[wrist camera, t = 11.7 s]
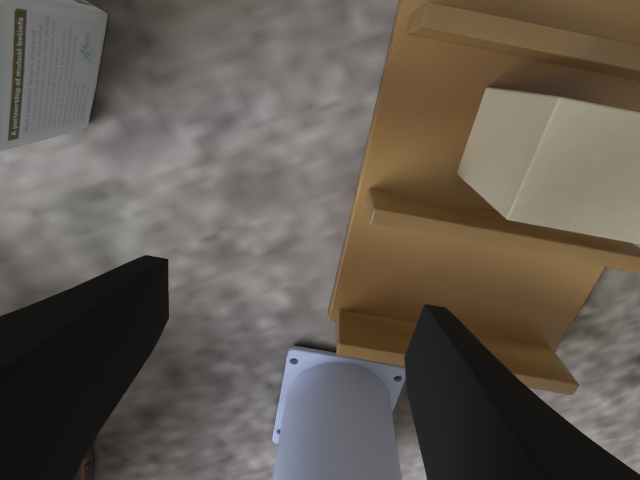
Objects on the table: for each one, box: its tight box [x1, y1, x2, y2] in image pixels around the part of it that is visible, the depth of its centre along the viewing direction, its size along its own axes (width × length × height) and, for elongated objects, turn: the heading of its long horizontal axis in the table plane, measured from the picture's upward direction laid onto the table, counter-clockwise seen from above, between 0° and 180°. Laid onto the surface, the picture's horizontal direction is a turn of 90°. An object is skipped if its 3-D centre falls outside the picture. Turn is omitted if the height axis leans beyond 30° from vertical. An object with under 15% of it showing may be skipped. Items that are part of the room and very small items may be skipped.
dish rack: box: [328, 0, 640, 395], centre depth 16 cm, size 24×14×4 cm, turn 170°
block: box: [457, 87, 640, 244], centre depth 14 cm, size 4×5×6 cm
